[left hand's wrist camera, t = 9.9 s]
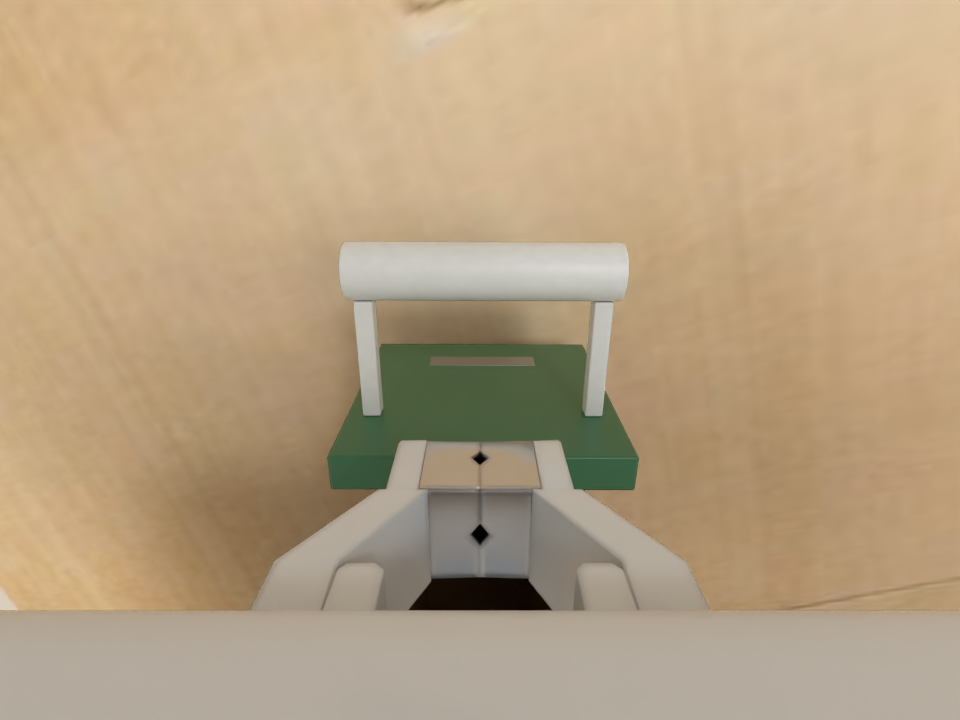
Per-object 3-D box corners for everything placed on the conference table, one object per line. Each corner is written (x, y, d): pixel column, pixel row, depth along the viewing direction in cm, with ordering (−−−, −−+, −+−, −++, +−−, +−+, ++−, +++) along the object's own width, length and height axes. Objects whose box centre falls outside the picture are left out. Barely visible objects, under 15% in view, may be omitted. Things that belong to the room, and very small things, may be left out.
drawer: (372, 213, 22) (301, 260, 13) (593, 214, 22) (667, 262, 13) (402, 640, 32) (373, 831, 23) (558, 640, 32) (588, 832, 23)
